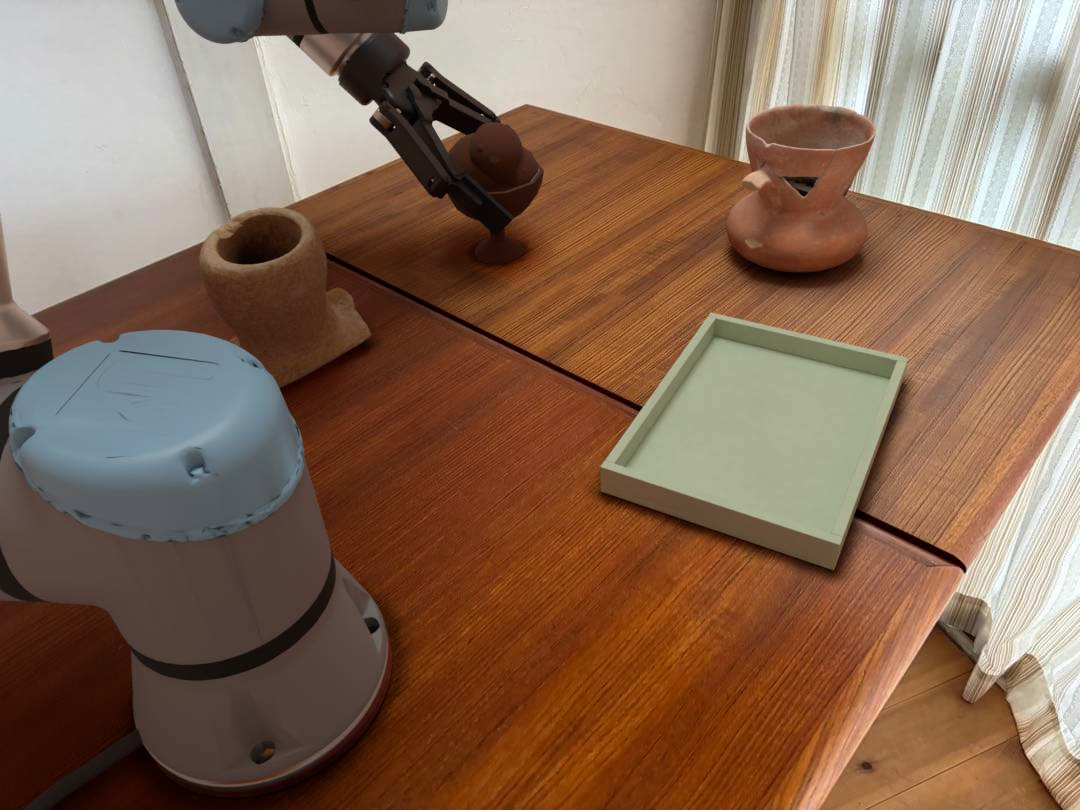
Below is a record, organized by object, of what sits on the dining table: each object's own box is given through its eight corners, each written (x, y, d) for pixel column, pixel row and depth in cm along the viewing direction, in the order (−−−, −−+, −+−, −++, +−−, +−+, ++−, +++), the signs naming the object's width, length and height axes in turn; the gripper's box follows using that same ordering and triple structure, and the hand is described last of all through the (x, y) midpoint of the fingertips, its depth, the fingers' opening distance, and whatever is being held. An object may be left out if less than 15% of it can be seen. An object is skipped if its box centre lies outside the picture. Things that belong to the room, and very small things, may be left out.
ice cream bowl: (557, 234, 99) (552, 105, 89) (527, 281, 90) (518, 144, 81) (473, 225, 101) (459, 99, 92) (436, 271, 93) (417, 137, 84)
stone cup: (263, 424, 73) (212, 272, 64) (203, 369, 81) (149, 225, 71) (405, 350, 81) (378, 205, 72) (338, 306, 88) (306, 169, 79)
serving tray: (833, 570, 57) (840, 545, 56) (600, 491, 65) (600, 466, 63) (902, 382, 73) (908, 357, 72) (708, 335, 81) (710, 312, 79)
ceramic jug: (793, 307, 84) (814, 170, 75) (688, 255, 93) (696, 128, 84) (903, 247, 92) (933, 117, 83) (796, 205, 101) (813, 84, 92)
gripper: (329, 60, 74) (514, 230, 80) (417, -7, 92) (563, 137, 98) (288, 118, 78) (466, 276, 85) (380, 44, 96) (521, 179, 103)
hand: (518, 202), depth 91 cm, fingers closed on ice cream bowl, 11 cm apart
